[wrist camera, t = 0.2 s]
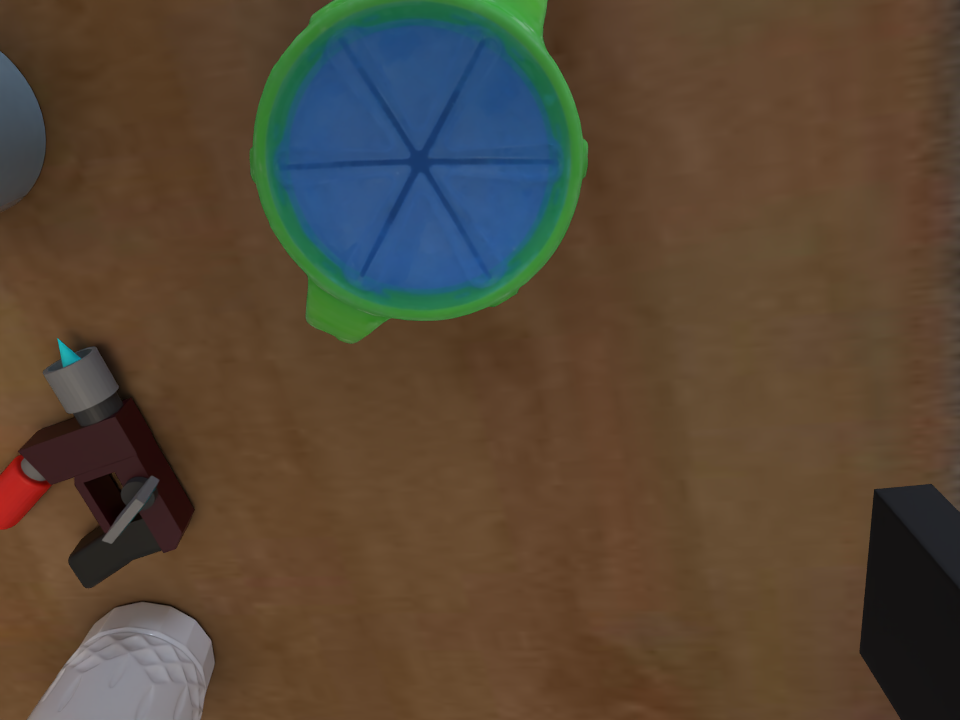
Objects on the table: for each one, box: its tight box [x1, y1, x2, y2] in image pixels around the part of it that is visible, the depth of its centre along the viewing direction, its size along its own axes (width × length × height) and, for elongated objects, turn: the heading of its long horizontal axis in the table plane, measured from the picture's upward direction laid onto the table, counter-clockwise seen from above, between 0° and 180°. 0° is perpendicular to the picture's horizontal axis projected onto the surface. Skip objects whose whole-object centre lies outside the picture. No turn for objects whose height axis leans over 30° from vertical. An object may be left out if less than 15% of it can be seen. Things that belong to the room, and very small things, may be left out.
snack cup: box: [250, 0, 588, 344], centre depth 32 cm, size 16×10×10 cm
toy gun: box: [0, 338, 194, 588], centre depth 40 cm, size 10×12×5 cm
